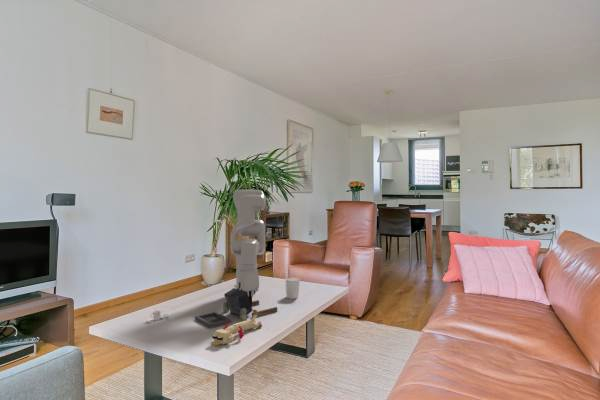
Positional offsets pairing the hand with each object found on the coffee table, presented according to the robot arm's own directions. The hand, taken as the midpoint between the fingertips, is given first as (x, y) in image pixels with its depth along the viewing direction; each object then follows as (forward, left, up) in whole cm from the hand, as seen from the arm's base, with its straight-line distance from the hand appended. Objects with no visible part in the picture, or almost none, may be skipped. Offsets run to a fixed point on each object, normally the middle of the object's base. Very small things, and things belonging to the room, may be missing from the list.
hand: (248, 305), depth 169 cm
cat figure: (+21, -19, -4) cm, 29 cm away
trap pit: (-1, -18, -4) cm, 19 cm away
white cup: (-7, +34, -4) cm, 34 cm away
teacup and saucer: (-16, -35, -4) cm, 39 cm away
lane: (-1, +2, -4) cm, 4 cm away
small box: (0, -4, -3) cm, 4 cm away
